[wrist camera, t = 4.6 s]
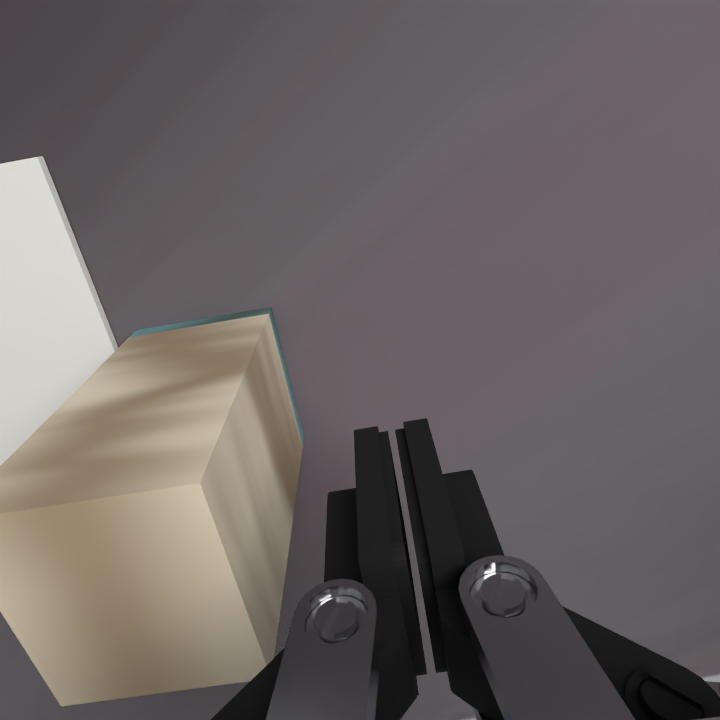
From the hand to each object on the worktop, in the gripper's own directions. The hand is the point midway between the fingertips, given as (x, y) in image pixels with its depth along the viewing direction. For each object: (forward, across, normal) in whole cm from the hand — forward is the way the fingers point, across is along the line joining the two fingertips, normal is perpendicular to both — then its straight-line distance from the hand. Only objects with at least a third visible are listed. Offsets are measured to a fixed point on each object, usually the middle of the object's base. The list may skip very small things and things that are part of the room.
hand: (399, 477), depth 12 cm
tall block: (+6, +5, 0) cm, 8 cm away
